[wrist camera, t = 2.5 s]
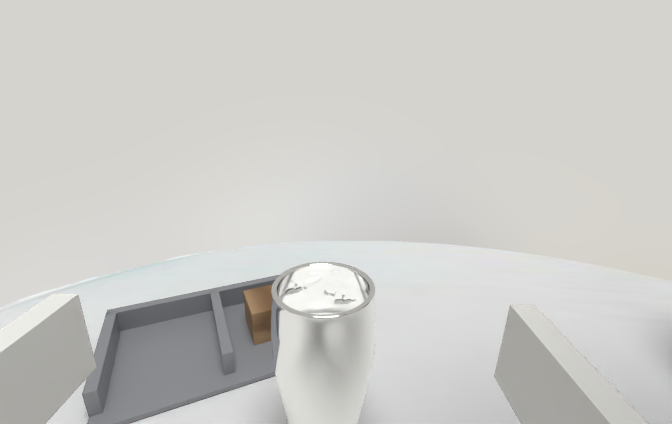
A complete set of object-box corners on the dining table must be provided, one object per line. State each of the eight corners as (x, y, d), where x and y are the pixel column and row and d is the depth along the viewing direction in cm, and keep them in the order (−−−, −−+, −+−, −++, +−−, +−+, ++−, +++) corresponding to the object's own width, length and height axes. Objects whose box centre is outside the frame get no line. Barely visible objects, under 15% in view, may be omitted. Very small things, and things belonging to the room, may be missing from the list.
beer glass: (285, 411, 30) (279, 258, 25) (364, 414, 30) (373, 261, 25) (269, 502, 23) (255, 318, 18) (370, 505, 23) (384, 321, 18)
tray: (299, 289, 48) (299, 270, 47) (342, 353, 36) (342, 330, 35) (112, 331, 39) (107, 310, 38) (86, 437, 27) (77, 409, 26)
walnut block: (285, 309, 43) (284, 281, 42) (297, 333, 39) (297, 303, 37) (245, 319, 41) (243, 290, 40) (254, 345, 37) (251, 314, 35)
